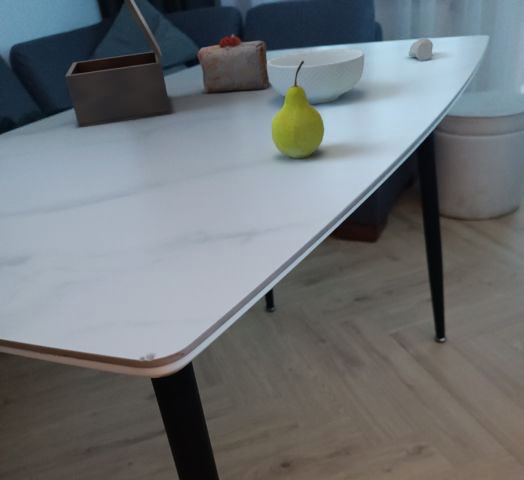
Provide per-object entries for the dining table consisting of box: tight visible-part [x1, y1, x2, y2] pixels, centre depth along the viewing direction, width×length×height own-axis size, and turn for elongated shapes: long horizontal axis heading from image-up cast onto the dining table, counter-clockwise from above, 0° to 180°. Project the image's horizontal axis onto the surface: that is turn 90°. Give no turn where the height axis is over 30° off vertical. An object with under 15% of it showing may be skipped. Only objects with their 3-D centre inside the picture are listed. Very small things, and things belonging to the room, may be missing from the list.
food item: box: [197, 33, 270, 94], centre depth 118 cm, size 14×8×10 cm, turn 81°
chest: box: [65, 51, 172, 128], centre depth 112 cm, size 17×16×9 cm
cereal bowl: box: [267, 48, 365, 105], centre depth 105 cm, size 17×17×7 cm
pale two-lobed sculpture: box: [408, 37, 434, 62], centre depth 127 cm, size 4×8×5 cm
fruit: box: [270, 61, 325, 159], centre depth 77 cm, size 7×7×12 cm
